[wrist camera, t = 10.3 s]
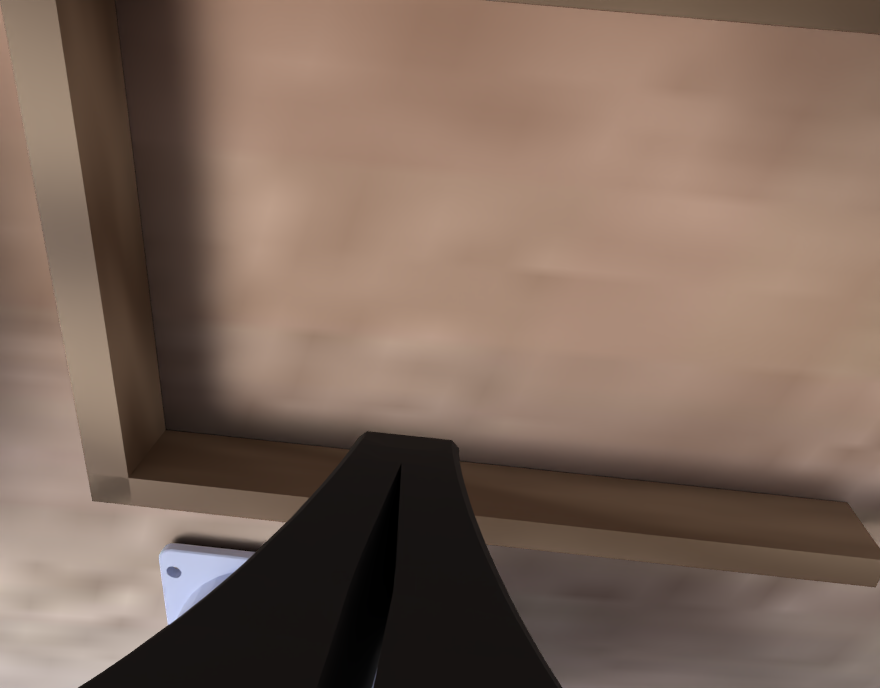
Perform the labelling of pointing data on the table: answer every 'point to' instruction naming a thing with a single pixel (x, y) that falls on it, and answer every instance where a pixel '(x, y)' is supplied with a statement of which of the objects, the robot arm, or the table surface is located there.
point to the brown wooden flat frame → (306, 467)
